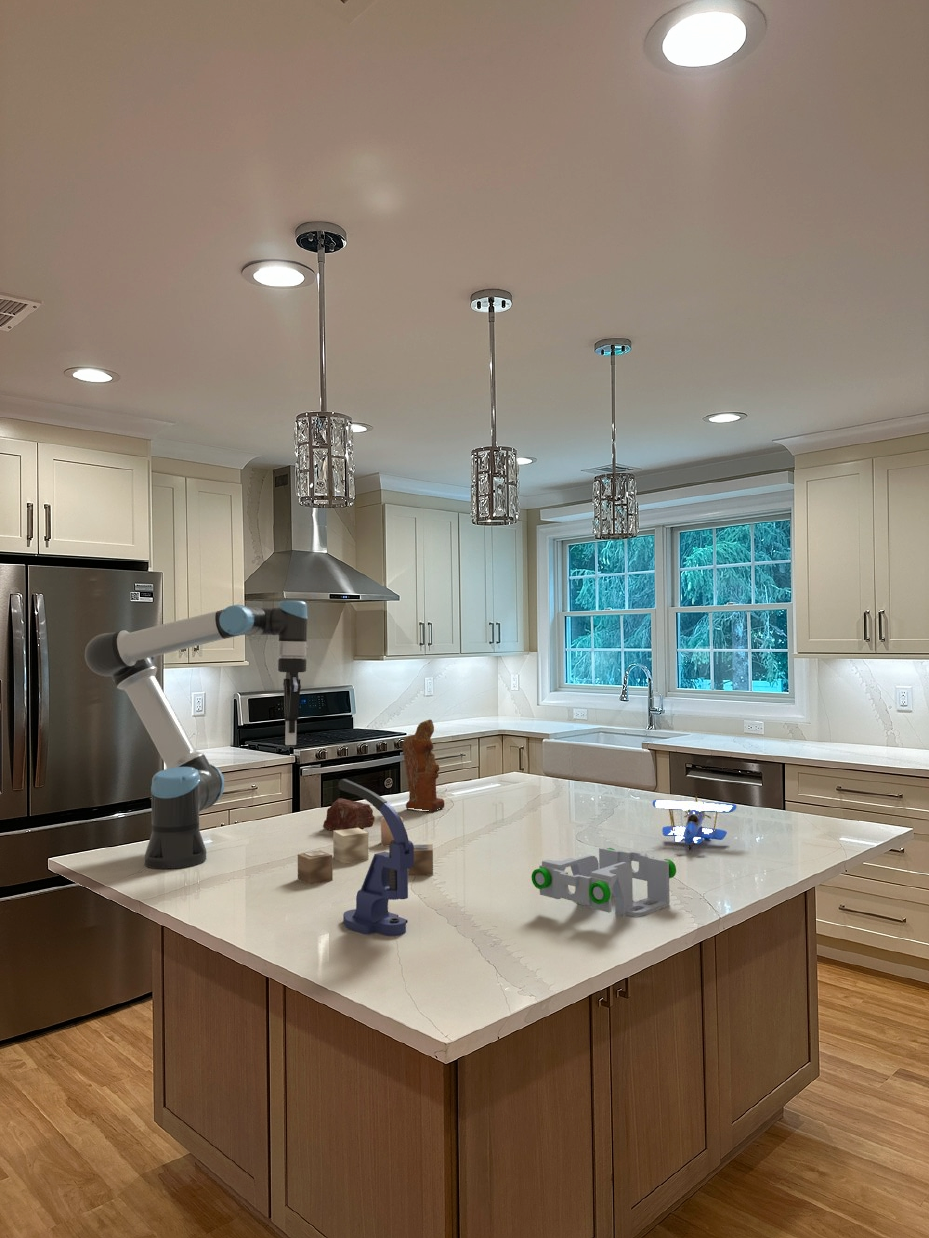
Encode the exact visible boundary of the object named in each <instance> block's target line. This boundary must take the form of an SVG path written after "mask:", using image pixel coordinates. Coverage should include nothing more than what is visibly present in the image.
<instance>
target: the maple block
mask: <svg viewBox="0 0 929 1238" xmlns="http://www.w3.org/2000/svg"><path fill="white" fill-rule="evenodd" d="M332 832H333V835H332V837H333V840H332V842H333V854H332V858H334V859H335V860H337V861H338V862H340V863H341V862H342V864H348V863H347V862H349V863H355V862H354V861H357V862H363V861H364V862H365V861H369V832H368V831H365V830H364V829H363V830H362V829H360V828H353V829H344V830H336V831H332Z"/></svg>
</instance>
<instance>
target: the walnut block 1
mask: <svg viewBox="0 0 929 1238" xmlns="http://www.w3.org/2000/svg"><path fill="white" fill-rule="evenodd" d="M333 864H334V863H333V854H331V853H329V852H325V851H323V850H315V851H309V852H304V853H303V852H302V853H297V880H298V879H299V880H298V881H300V880H301V881H300V882H302V881H303V883H304V882H305V884H307V885H308V886H309V885H310V886H311V885H315V884H316V885H317V884H320V883H326V882H331V881H333V880H334V878H333V875H334V874H333V871H334V870H333V868H334V867H333Z"/></svg>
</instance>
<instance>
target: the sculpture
mask: <svg viewBox="0 0 929 1238" xmlns="http://www.w3.org/2000/svg"><path fill="white" fill-rule="evenodd" d="M434 732H435V725H434V721H433V720H432V719H426V720H424V721H422V722H420V723H419V724H418V726H417V728H416V731H415V733H414V734H410V735H408V736H406V738H405V739H403V741H402V742H401V750H402V755H403V758H404V765H405V770H406V776H407V787H408V792H409V794H408V795H409V798H408V799H409V800H407V802H406V804H405V809H406V808H414V809H422V810H429V811H433V812H435V811H434V810H436V811H438V810H437V809H439V808H442V809H444V808H445V800H444V799H443V798H439V797H437V784H436V783H437V782H436V781H437V779H438V778H439V775H440V774H439V771H440V765H439V764H437V762H436V756H435V754H434V753H433V752H432V751H433V750H434V743H433V741H432V740H431V738H432V735H433V733H434ZM439 810H440V809H439Z"/></svg>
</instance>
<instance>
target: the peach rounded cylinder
mask: <svg viewBox="0 0 929 1238" xmlns="http://www.w3.org/2000/svg"><path fill="white" fill-rule="evenodd" d="M400 818H401V820H402V822H403V816H400ZM403 823H404V822H403ZM391 840H394V838H393V835H392V833H391V831H390V828H389V826H388V824H387V822H386V820H385V819H384V817H383V816H382V817H380V844H381V845H382V844H383V846H386V845H389V843H390V841H391Z"/></svg>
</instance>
